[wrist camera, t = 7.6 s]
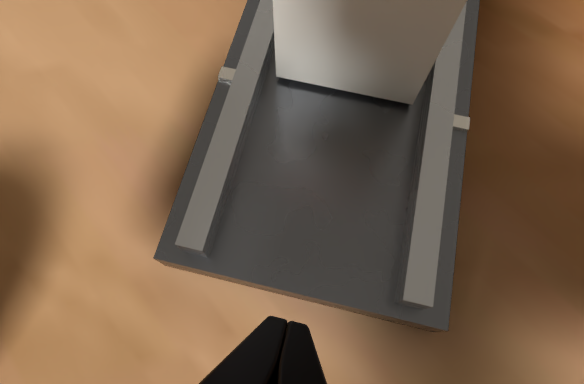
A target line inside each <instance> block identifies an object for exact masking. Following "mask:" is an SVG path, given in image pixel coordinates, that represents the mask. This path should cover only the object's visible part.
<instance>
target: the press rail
mask: <svg viewBox="0 0 584 384" xmlns="http://www.w3.org/2000/svg"><path fill="white" fill-rule="evenodd" d="M479 2H480V0H467V2H466V3H465V5H464V7H463V9H462V11H461V13H460V15H459V17H458V19H457V21H456V23H455V24H454V26H453V28H452V30H451V32H450V34H449V36H448V38H447V40H446V42H445V44H444V45H443V47H442V49H441V51H440V53H439V55H438V57H437V59H436V61H435V63H434V64H433V66H432V68H431V70H430V72H429V74H428V76H427V78H426V80H425V82H424V84H423V85H422V87H421V89H420V91H419V93H418V95H417V97H416V99H415V101H414V103H413V105H412V104H407V103H402V102H397V101H392V100H387V99H382V98H378V97H373V96H368V95H363V94H358V93H353V92H349V91H344V90H339V89H334V88H329V87H324V86H319V85H315V84H310V83H305V82H300V81H295V80H290V79H285V78H281V77H276V63H275V41H274V19H273V0H247V3H246V6H245V9H244V11H243V14H242V17H241V20H240V22H239V25H238V28H237V31H236V33H235V36H234V39H233V42H232V44H231V47H230V50H229V53H228V55H227V58H226V61H225V64H224V66H222V67H221V70H220V72H219V75H218V83H217V85H216V88H215V91H214V94H213V96H212V99H211V102H210V105H209V107H208V110H207V113H206V116H205V118H204V121H203V124H202V127H201V129H200V132H199V135H198V138H197V140H196V143H195V146H194V149H193V151H192V154H191V157H190V159H189V162H188V165H187V168H186V170H185V173H184V176H183V179H182V181H181V184H180V187H179V190H178V192H177V195H176V198H175V201H174V203H173V206H172V209H171V212H170V214H169V217H168V220H167V223H166V225H165V228H164V231H163V233H162V236H161V239H160V242H159V244H158V247H157V250H156V253H155V255H154V259H155V260H157V261H159V262H160V263H162V264H163V265H165V266H169V267H173V268H177V269H181V270H185V271H189V272H193V273H197V274H201V275H205V276H209V277H214V278H218V279H222V280H226V281H230V282H234V283H238V284H242V285H246V286H250V287H254V288H258V289H262V290H266V291H270V292H274V293H278V294H282V295H286V296H290V297H294V298H298V299H302V300H306V301H311V302H315V303H319V304H323V305H327V306H331V307H335V308H339V309H343V310H347V311H351V312H355V313H359V314H363V315H367V316H371V317H375V318H379V319H383V320H387V321H391V322H395V323H399V324H403V325H407V326H412V327H416V328H420V329H424V330H428V331H432V332H441V331H448V327H449V316H450V306H451V296H452V285H453V275H454V264H455V254H456V243H457V233H458V222H459V212H460V201H461V191H462V180H463V170H464V159H465V149H466V138H467V132H468V130H469V125H470V117H469V107H470V96H471V86H472V75H473V65H474V54H475V44H476V33H477V23H478V13H479Z"/></svg>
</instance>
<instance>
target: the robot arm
mask: <svg viewBox="0 0 584 384" xmlns="http://www.w3.org/2000/svg"><path fill="white" fill-rule="evenodd" d="M287 324H288V325H287ZM199 384H327V382H326V379H325V376H324V373H323V370H322V367H321V364H320V361H319V358H318V355H317V352H316V349H315V346H314V343H313V340H312V337H311V334H310V330H309V328H308V326H307V325H305V324H302V323H298V322H294V321H290V322H287V320H285V319H282V318H278V317H274V316H269V317H267V318H266V319H265V320H264V321H263V322H262V323H261V324H260V325H259V326H258V327H257V328H256V329H255V330H254V331H253V332H252V333H251V334H250V335H249V336H248V337H246V338H245V339H244V340H243V341H242V342H241V343H240V344H239V345H238V346H237V347H236V348H235V349H234V350H233V351H232V352H231V353H230V354H229V355H228V356H227V357H226V358H225V359H224V360H223V361H222V362H221V363H220V364H219V365H218V366H217V367H215V368H214V369H213V370H212V371H211V372H210V373H209V374H208V375H207V376H206V377H205V378H204V379H203V380H202V381H201V382H200V383H199Z"/></svg>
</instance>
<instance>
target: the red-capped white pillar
mask: <svg viewBox="0 0 584 384" xmlns="http://www.w3.org/2000/svg"><path fill="white" fill-rule="evenodd" d="M466 2H467V0H273V19H274V41H275V63H276V77H281V78H285V79H290V80H295V81H300V82H305V83H310V84H315V85H319V86H324V87H329V88H334V89H339V90H344V91H349V92H353V93H358V94H363V95H368V96H373V97H378V98H382V99H387V100H392V101H397V102H402V103H407V104H412V105H413V103H414V101H415V99H416V97H417V95H418V93H419V91H420V89H421V87H422V85H423V84H424V82H425V80H426V78H427V76H428V74H429V72H430V70H431V68H432V66H433V64H434V63H435V61H436V59H437V57H438V55H439V53H440V51H441V49H442V47H443V45H444V44H445V42H446V40H447V38H448V36H449V34H450V32H451V30H452V28H453V26H454V24H455V23H456V21H457V19H458V17H459V15H460V13H461V11H462V9H463V7H464V5H465V3H466Z"/></svg>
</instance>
